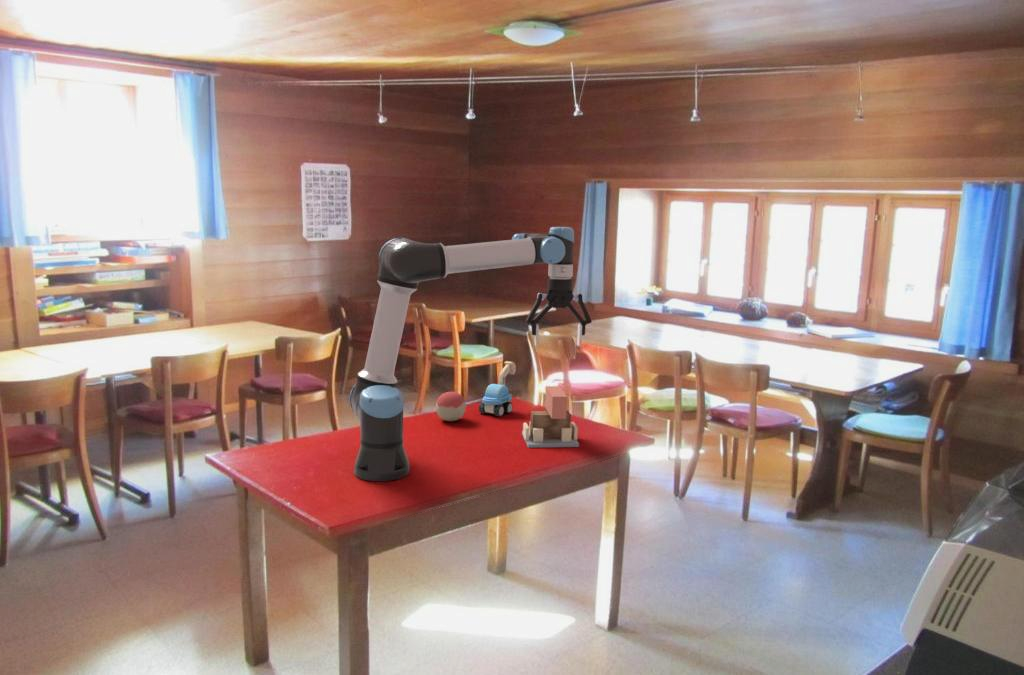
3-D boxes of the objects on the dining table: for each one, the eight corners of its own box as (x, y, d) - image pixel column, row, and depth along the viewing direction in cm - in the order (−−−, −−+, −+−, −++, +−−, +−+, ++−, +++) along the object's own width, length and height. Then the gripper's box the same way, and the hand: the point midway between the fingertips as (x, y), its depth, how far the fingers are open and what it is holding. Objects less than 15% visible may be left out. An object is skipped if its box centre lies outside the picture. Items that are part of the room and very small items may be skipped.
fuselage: (532, 439, 252) (533, 415, 250) (530, 435, 256) (530, 411, 254) (569, 439, 253) (570, 414, 252) (567, 434, 257) (567, 410, 256)
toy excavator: (522, 408, 291) (523, 362, 288) (497, 418, 277) (498, 370, 274) (502, 404, 295) (504, 359, 292) (477, 414, 282) (477, 367, 278)
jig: (527, 447, 247) (527, 432, 246) (521, 433, 260) (521, 419, 260) (579, 446, 249) (580, 431, 248) (570, 433, 263) (571, 418, 262)
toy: (469, 416, 279) (470, 388, 277) (461, 425, 267) (461, 396, 266) (442, 414, 281) (442, 386, 279) (432, 423, 269) (432, 394, 267)
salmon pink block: (551, 418, 247) (552, 396, 245) (545, 407, 259) (545, 386, 258) (566, 418, 247) (567, 396, 246) (558, 407, 260) (559, 386, 259)
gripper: (521, 278, 240) (519, 347, 244) (602, 279, 243) (599, 347, 247) (518, 275, 247) (516, 343, 251) (597, 276, 251) (594, 343, 255)
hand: (557, 345), depth 249 cm, fingers open, 13 cm apart
